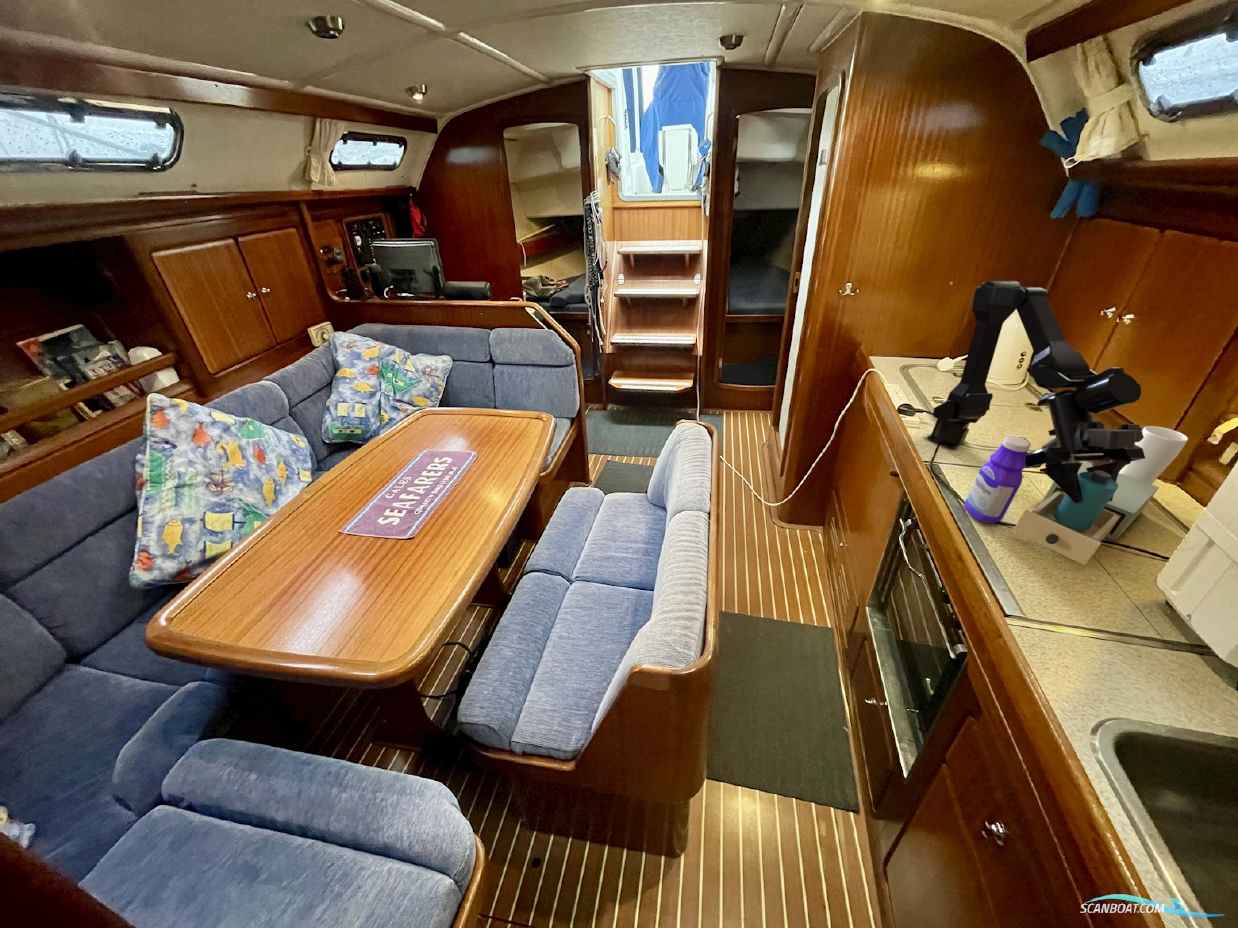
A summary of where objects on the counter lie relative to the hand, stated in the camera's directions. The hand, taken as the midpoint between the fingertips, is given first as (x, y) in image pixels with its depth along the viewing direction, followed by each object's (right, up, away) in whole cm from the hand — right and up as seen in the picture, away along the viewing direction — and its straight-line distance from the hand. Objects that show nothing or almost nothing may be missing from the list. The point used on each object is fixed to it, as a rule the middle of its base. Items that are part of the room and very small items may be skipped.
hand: (1093, 502), depth 89 cm
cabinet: (+11, -3, +12) cm, 17 cm away
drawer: (-2, -7, +4) cm, 8 cm away
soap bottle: (0, -4, +4) cm, 6 cm away
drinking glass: (+24, 0, +18) cm, 30 cm away
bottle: (-13, -4, +11) cm, 17 cm away
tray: (+26, +9, +31) cm, 41 cm away
